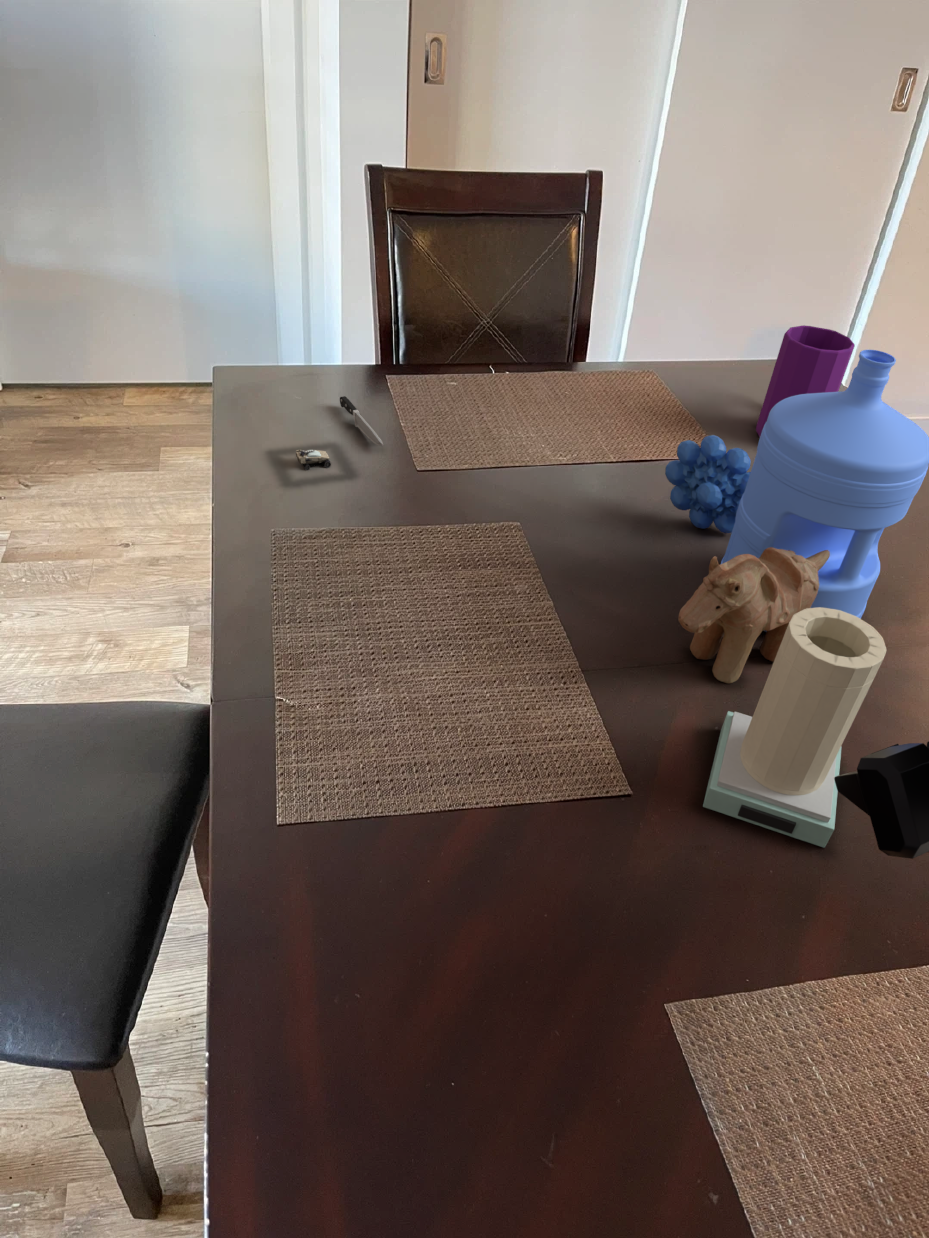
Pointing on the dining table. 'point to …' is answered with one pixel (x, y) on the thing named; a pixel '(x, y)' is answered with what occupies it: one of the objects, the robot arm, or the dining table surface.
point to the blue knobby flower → (709, 482)
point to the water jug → (833, 482)
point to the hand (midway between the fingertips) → (884, 765)
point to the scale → (767, 792)
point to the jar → (810, 699)
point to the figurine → (749, 606)
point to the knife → (360, 421)
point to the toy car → (313, 458)
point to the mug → (807, 366)
